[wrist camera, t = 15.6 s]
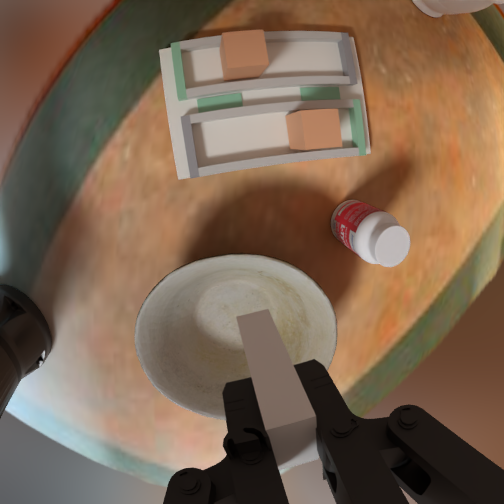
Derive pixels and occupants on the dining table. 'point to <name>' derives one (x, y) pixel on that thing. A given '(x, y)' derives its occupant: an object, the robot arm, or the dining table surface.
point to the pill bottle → (370, 233)
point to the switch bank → (260, 102)
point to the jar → (452, 6)
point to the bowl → (226, 325)
